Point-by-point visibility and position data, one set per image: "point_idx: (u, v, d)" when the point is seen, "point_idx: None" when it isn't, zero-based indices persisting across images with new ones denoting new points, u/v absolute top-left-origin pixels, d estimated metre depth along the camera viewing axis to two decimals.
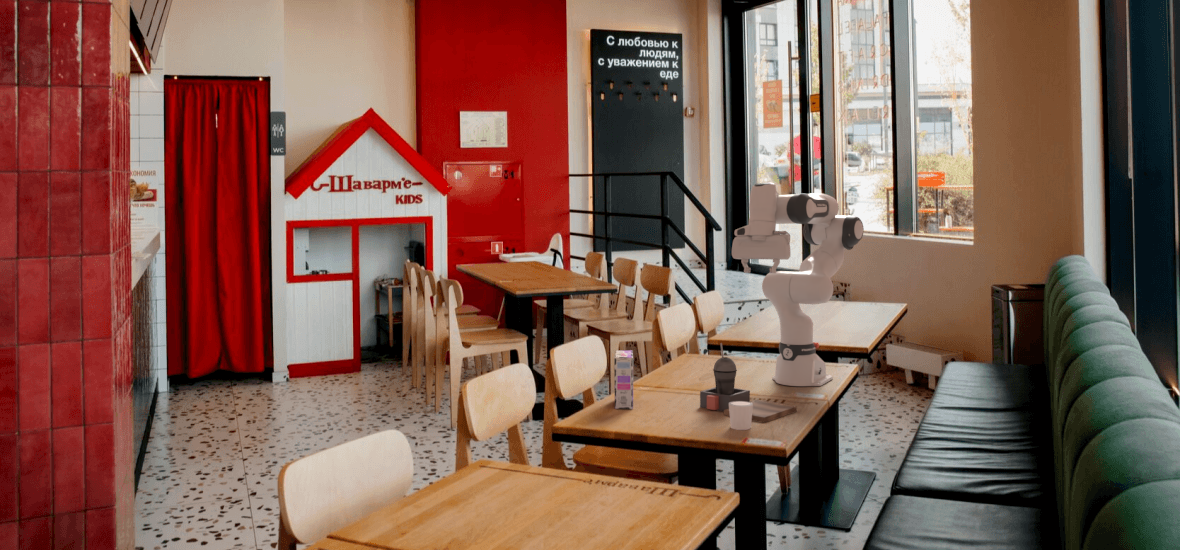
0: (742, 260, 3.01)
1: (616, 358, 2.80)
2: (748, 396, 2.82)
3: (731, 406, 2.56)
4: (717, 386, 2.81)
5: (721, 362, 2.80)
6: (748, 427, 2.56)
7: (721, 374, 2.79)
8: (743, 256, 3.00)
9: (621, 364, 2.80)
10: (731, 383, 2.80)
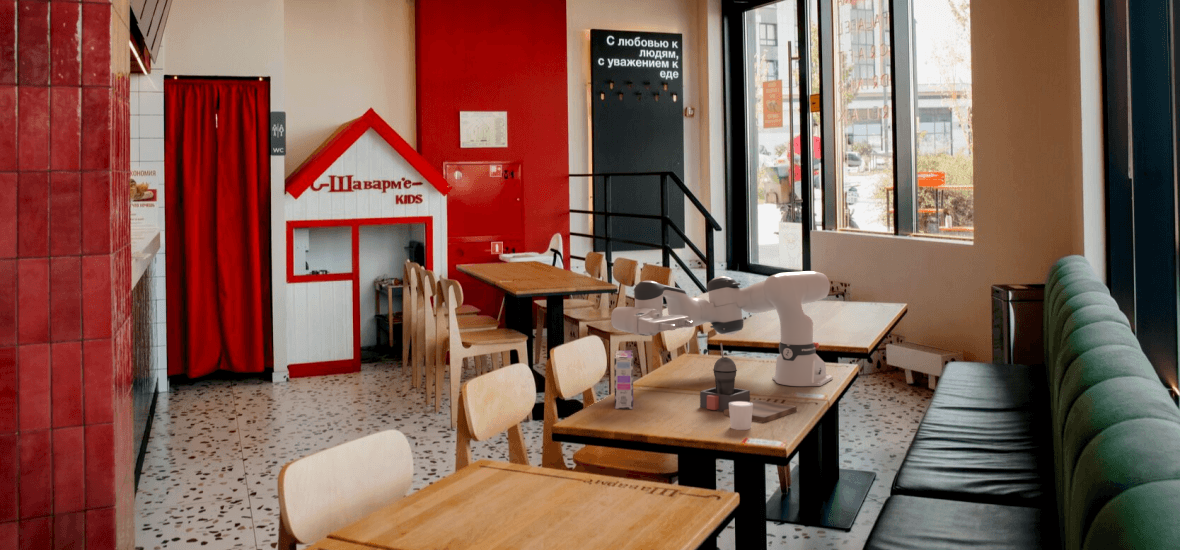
0: (661, 323, 2.91)
1: (616, 358, 2.80)
2: (748, 396, 2.82)
3: (731, 406, 2.56)
4: (717, 386, 2.81)
5: (722, 362, 2.80)
6: (748, 427, 2.56)
7: (721, 374, 2.79)
8: (659, 320, 2.92)
9: (621, 364, 2.80)
10: (731, 383, 2.80)
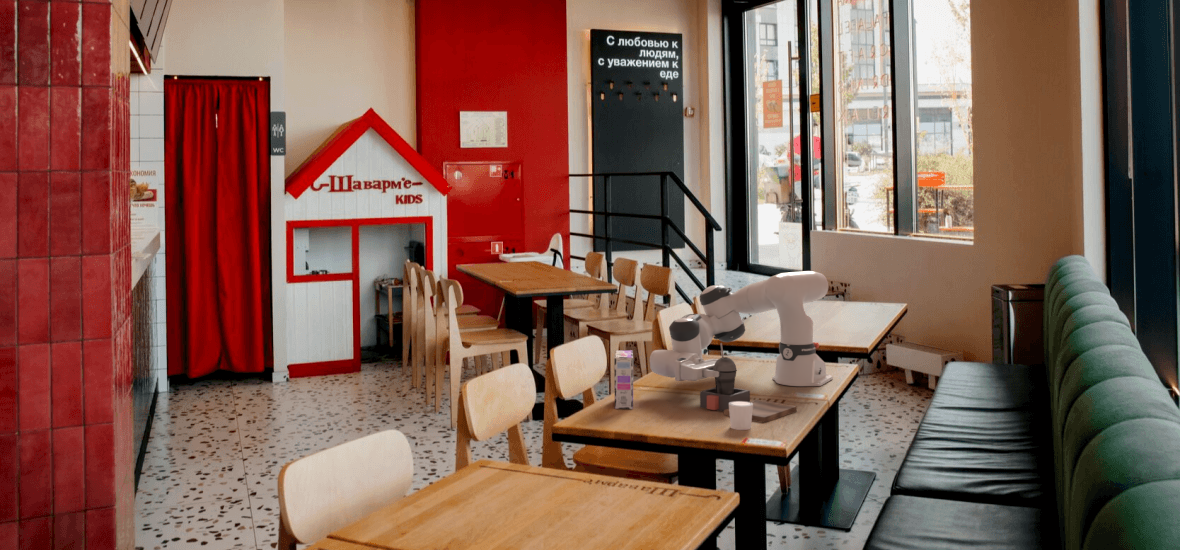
0: (706, 369, 2.80)
1: (616, 358, 2.80)
2: (748, 396, 2.82)
3: (731, 406, 2.56)
4: (717, 386, 2.81)
5: (721, 362, 2.80)
6: (748, 427, 2.56)
7: (721, 374, 2.79)
8: (703, 366, 2.81)
9: (621, 364, 2.80)
10: (731, 383, 2.80)
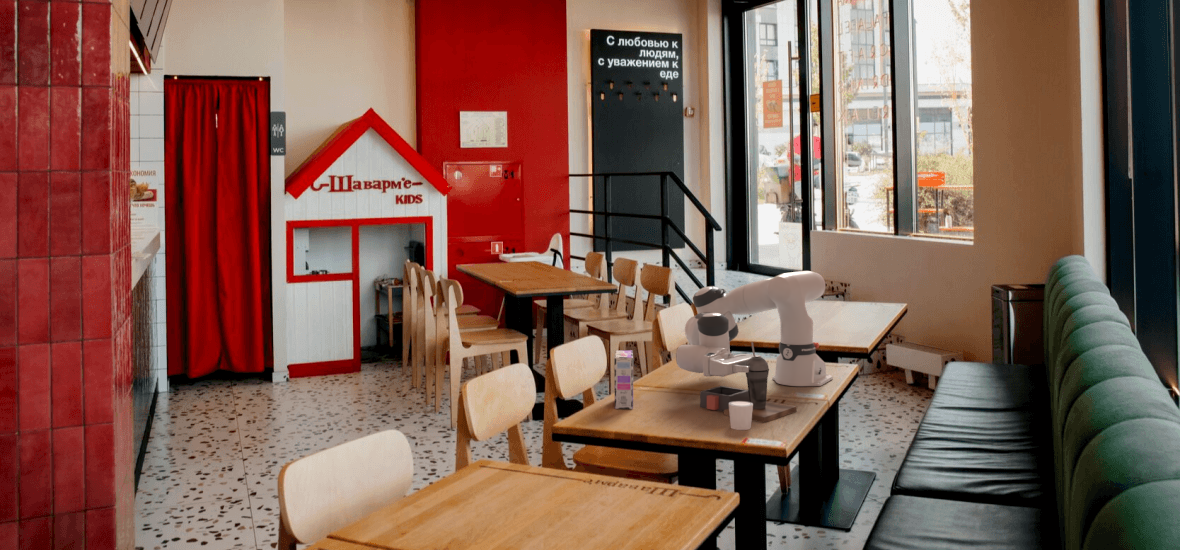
0: (735, 365, 2.72)
1: (616, 358, 2.80)
2: (748, 396, 2.82)
3: (731, 406, 2.56)
4: (749, 386, 2.73)
5: (753, 361, 2.72)
6: (748, 427, 2.56)
7: (753, 374, 2.71)
8: (733, 361, 2.73)
9: (621, 364, 2.80)
10: (764, 383, 2.72)
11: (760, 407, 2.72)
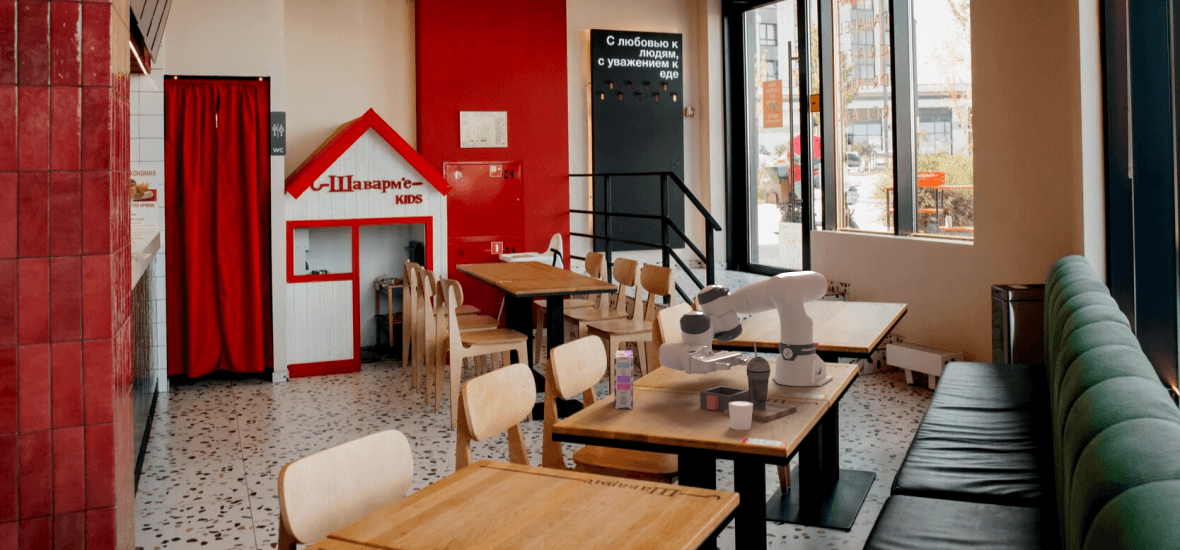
0: (715, 362, 2.76)
1: (616, 358, 2.80)
2: (748, 396, 2.82)
3: (731, 406, 2.55)
4: (750, 386, 2.73)
5: (755, 361, 2.71)
6: (748, 427, 2.56)
7: (755, 374, 2.71)
8: (713, 359, 2.78)
9: (621, 364, 2.80)
10: (765, 383, 2.71)
11: (760, 407, 2.72)
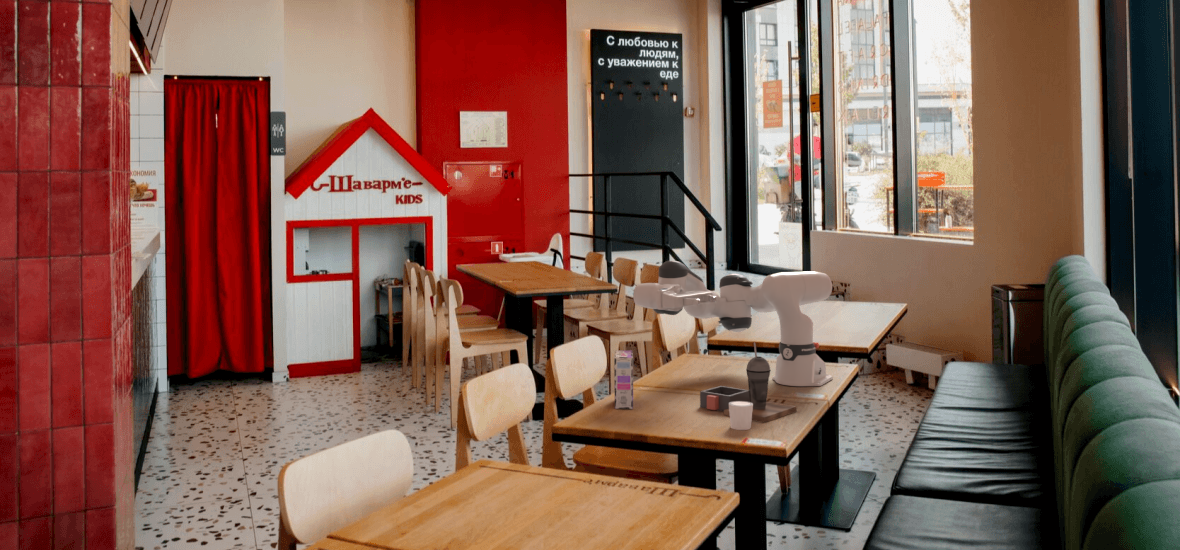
0: (685, 298, 2.90)
1: (616, 358, 2.80)
2: (748, 396, 2.82)
3: (731, 406, 2.56)
4: (750, 386, 2.73)
5: (755, 361, 2.71)
6: (748, 427, 2.56)
7: (755, 374, 2.71)
8: (683, 295, 2.92)
9: (621, 364, 2.80)
10: (765, 383, 2.72)
11: (760, 407, 2.72)
